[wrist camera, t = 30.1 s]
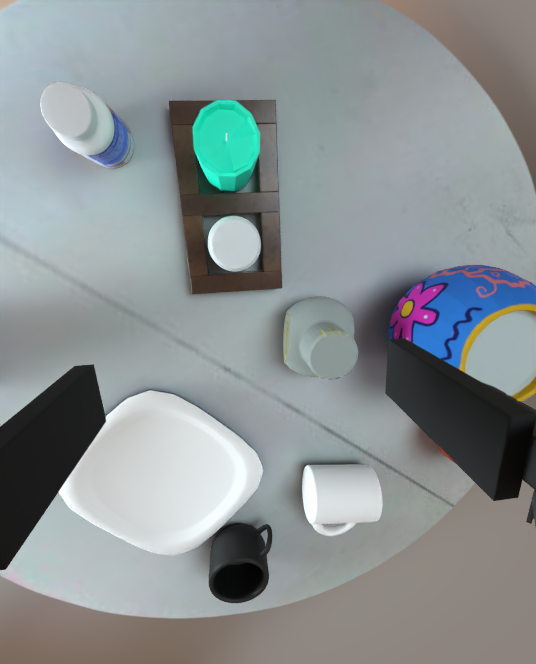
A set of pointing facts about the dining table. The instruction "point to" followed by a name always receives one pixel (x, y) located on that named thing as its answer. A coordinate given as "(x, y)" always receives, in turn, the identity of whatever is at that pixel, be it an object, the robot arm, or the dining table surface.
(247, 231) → the pill bottle
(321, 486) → the mug
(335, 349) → the air freshener
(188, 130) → the holder
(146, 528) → the plate
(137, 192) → the dining table surface
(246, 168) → the candle
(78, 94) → the pill bottle
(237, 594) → the mug
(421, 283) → the ceramic pot
